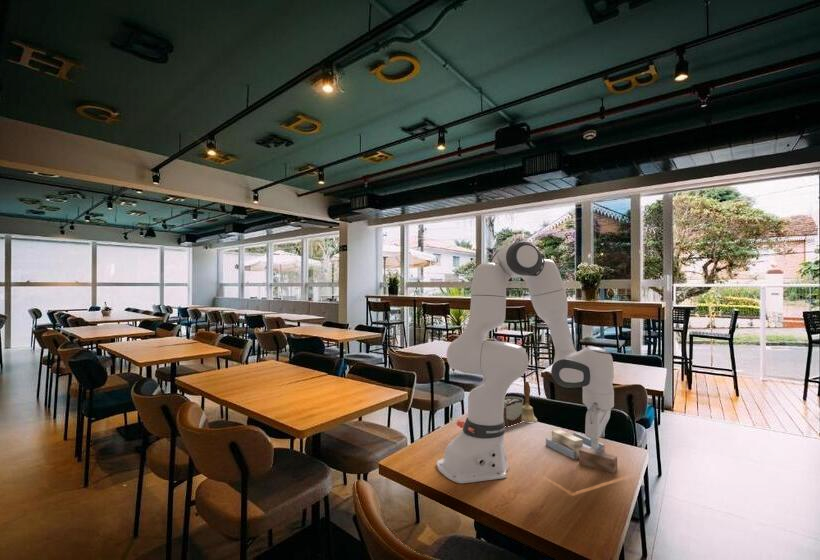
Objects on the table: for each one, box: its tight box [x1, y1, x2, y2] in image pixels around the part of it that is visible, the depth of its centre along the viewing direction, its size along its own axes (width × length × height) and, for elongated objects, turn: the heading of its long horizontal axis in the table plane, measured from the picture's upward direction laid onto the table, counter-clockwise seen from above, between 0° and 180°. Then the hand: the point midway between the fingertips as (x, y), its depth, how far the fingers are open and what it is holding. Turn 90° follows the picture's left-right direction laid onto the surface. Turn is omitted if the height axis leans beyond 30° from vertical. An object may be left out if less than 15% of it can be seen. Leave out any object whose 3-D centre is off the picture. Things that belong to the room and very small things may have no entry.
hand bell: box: [522, 381, 538, 423], centre depth 162 cm, size 8×8×16 cm
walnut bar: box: [578, 447, 618, 474], centre depth 120 cm, size 10×4×5 cm, turn 47°
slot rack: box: [545, 431, 606, 460], centre depth 133 cm, size 14×12×3 cm
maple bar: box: [551, 429, 583, 456], centre depth 131 cm, size 10×4×5 cm, turn 26°
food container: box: [503, 396, 525, 428], centre depth 158 cm, size 12×6×10 cm, turn 128°
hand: (598, 442), depth 121 cm, fingers open, 8 cm apart
